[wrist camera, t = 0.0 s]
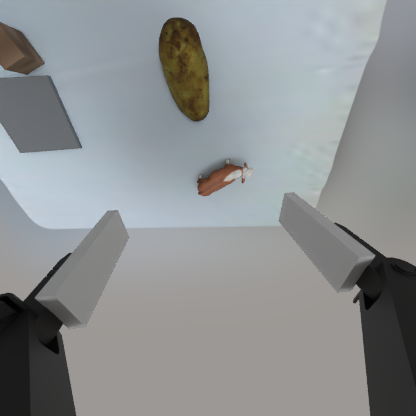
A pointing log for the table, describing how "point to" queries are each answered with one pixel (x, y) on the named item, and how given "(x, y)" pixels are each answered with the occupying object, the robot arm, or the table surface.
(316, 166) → the table surface
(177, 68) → the potato
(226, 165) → the bull figurine
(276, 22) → the table surface
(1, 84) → the coaster
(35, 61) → the walnut cube
